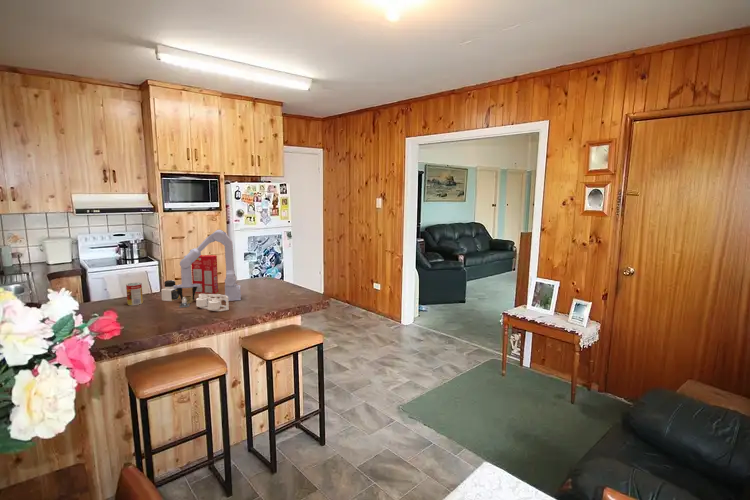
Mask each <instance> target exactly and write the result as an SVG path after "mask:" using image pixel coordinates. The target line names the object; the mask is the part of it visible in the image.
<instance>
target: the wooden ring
mask: <svg viewBox="0 0 750 500" xmlns="http://www.w3.org/2000/svg"><path fill="white" fill-rule="evenodd" d="M183 297H186V299H187V303H190V304H191V303H193V302H194V300H193V295H184V296H183ZM183 297H182V299H183Z"/></svg>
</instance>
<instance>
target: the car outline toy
mask: <svg viewBox="0 0 750 500" xmlns="http://www.w3.org/2000/svg"><path fill="white" fill-rule="evenodd" d="M207 299H208V304H207ZM225 300H226V301H225ZM222 301H225V305H223V304H222ZM195 302H196V303H195V305H196V307H199V308H200V309H203V310H204V309H205V310H208V311H212V312H224V311H229V310H230V308H229V307H230V306H229V305H230V304H229V302H230V301H228V297H227V296H226V295H225V294H219V293H215V294H208V293H198V297H197V298H196V299H195Z"/></svg>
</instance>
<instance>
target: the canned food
mask: <svg viewBox="0 0 750 500" xmlns="http://www.w3.org/2000/svg"><path fill="white" fill-rule="evenodd" d="M125 285H126V287H125V288H126V289H125V290H126V301H127V305H128V306H138V305H139V304H140V305H142V304H143V303H144V299H143V285H142V282H130V283H126V284H125Z"/></svg>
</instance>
